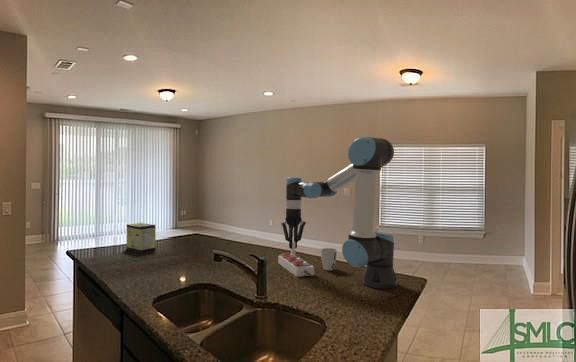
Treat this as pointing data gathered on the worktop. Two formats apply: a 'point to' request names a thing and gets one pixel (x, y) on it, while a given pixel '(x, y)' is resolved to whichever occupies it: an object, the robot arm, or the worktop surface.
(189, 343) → the worktop surface
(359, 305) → the worktop surface
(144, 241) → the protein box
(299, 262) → the rocker
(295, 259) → the plate
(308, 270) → the power strip
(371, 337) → the worktop surface
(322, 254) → the cup
